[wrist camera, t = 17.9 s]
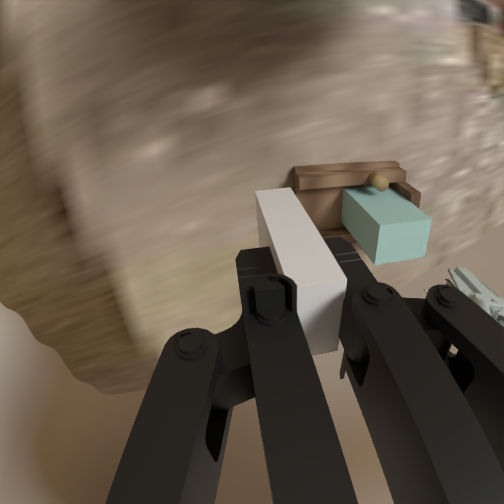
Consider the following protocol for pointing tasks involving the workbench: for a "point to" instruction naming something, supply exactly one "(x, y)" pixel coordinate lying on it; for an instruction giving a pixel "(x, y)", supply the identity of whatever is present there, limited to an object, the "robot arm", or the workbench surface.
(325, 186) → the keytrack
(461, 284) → the bracket
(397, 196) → the mint green box
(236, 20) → the workbench surface
